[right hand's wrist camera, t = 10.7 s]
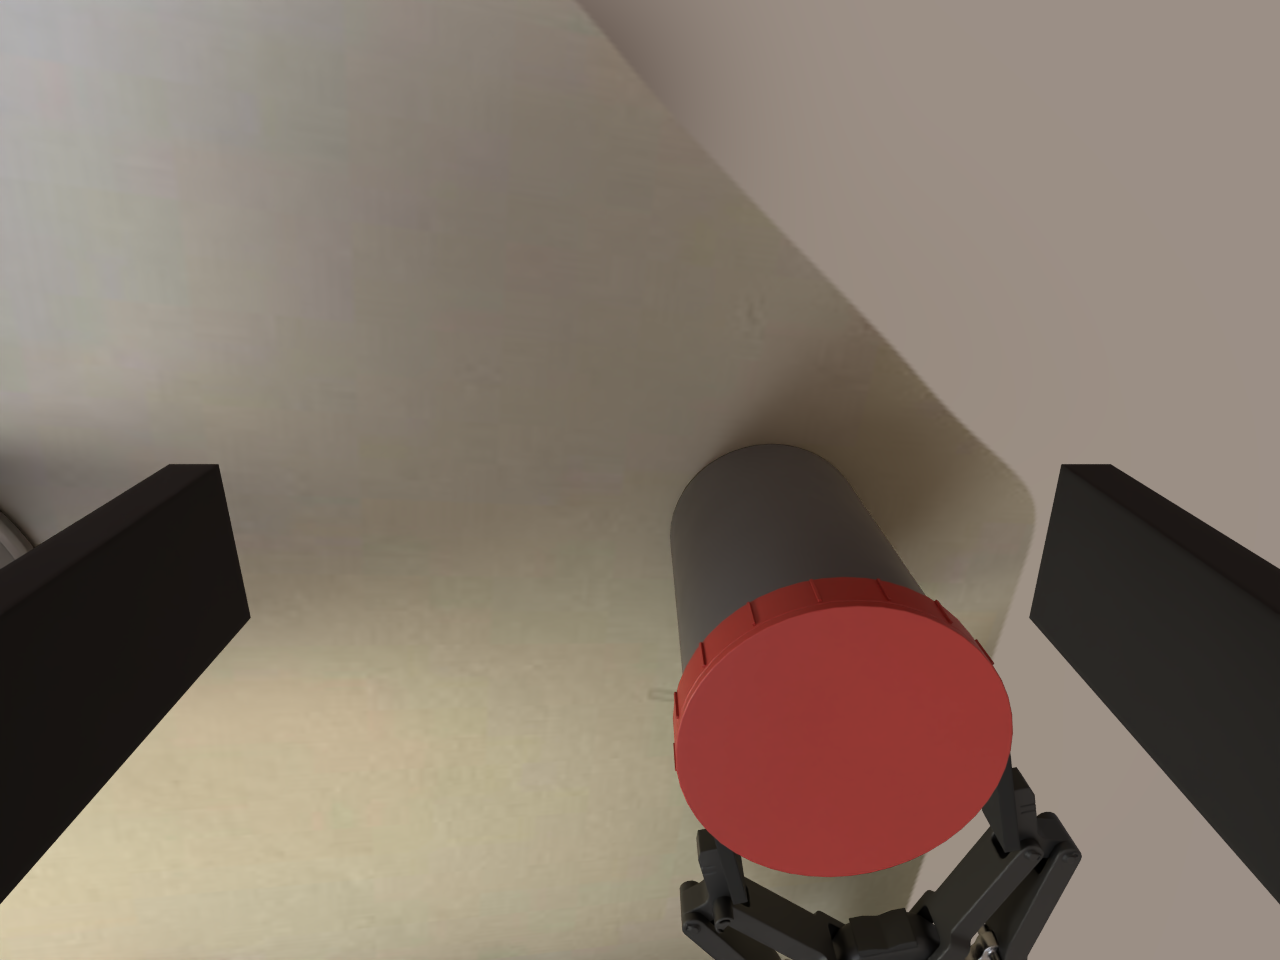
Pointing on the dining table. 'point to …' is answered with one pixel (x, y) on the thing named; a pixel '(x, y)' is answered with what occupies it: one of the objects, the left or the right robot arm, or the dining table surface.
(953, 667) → the lid
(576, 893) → the dining table surface
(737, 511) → the jar
